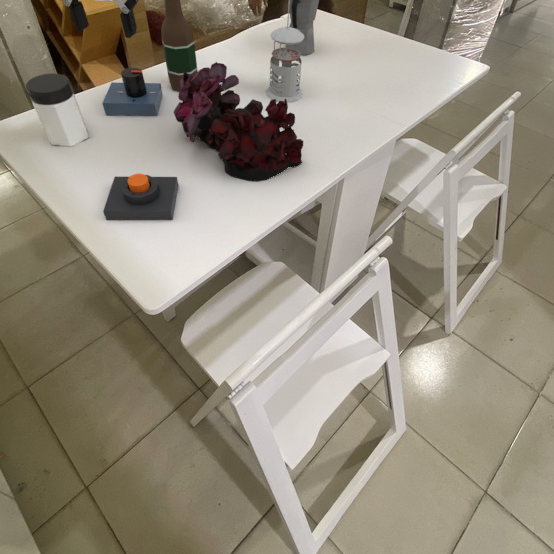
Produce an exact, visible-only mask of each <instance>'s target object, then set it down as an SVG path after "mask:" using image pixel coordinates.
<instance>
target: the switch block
mask: <svg viewBox="0 0 554 554" xmlns="http://www.w3.org/2000/svg"><path fill="white" fill-rule="evenodd" d="M145 175H146V176H147V177H148V181H149V184H150V188H149V189H148V190H147V191H145V192H142V193H133V192H132V191H131V190H130V188H129V185H128V178H129V177H130V176H113V177H114V178H113V181H112V183H111V186H110V190H109V193H108V196H107V199H106V202H105V205H104V207H103V210H102V213H103V215H104V217H105V219H106V221H173V220H174V214H175V209H176V202H177V199H178V191H179V181H178V180H179V179H178V176H151V175H149V174H145Z"/></svg>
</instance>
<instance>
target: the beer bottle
mask: <svg viewBox="0 0 554 554" xmlns="http://www.w3.org/2000/svg"><path fill="white" fill-rule="evenodd" d="M164 9H165V11H164V12H165V13H164V15H165V16H164V19H163V21H162V24H161V30H160V33H161V42H162V47H163V54H164V59H165V60H164V61H165V64H166V70H167V71H166V72H167V77H168V81H169V85H170V87H171V90H172V91H174V92H175V91H176V92H178V93H179V92H180V90H181V85H180V80H181V78H182V77H183V73H185V72H186V73H188V74H190V75H194V76H195V74H196V73H197V72H198V71H199V70H198V63H197V55H196V46H195V39H194V33H193V31H192V28H191V26H190V24H189V23H188V21H187V19H186V17H185V15H184V13H183V9H182V3H181V0H164Z"/></svg>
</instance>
